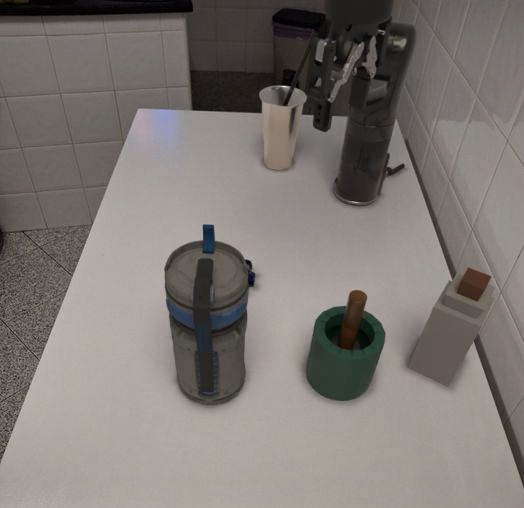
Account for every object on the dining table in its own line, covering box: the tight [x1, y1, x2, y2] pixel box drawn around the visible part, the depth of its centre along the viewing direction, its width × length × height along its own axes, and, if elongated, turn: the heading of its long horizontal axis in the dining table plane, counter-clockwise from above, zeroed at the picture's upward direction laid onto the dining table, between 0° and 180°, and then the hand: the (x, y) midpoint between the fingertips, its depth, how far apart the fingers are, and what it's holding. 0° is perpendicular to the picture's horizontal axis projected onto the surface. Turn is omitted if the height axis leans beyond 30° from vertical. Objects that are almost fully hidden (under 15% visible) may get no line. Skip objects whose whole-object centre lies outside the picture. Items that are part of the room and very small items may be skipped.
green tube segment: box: [305, 305, 386, 402], centre depth 75 cm, size 10×10×10 cm
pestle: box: [331, 289, 368, 351], centre depth 72 cm, size 4×4×16 cm
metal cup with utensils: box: [258, 27, 319, 171], centre depth 107 cm, size 11×11×30 cm
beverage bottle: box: [163, 223, 250, 405], centre depth 67 cm, size 10×13×25 cm
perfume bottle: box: [407, 267, 496, 387], centre depth 75 cm, size 7×7×18 cm
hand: (339, 117), depth 65 cm, fingers open, 8 cm apart
